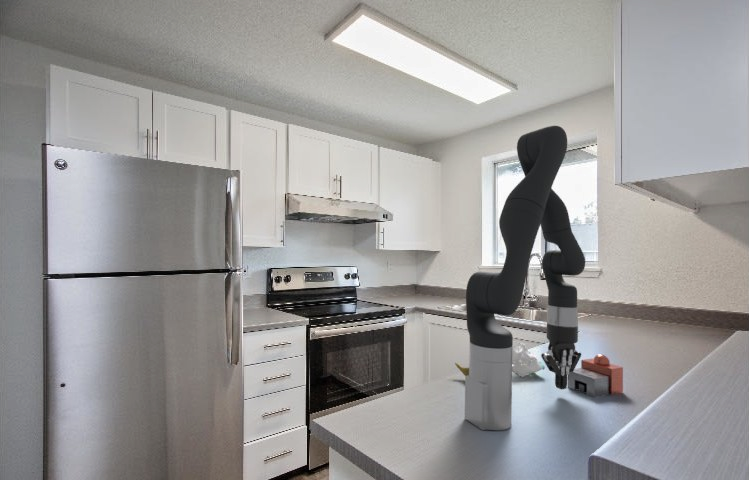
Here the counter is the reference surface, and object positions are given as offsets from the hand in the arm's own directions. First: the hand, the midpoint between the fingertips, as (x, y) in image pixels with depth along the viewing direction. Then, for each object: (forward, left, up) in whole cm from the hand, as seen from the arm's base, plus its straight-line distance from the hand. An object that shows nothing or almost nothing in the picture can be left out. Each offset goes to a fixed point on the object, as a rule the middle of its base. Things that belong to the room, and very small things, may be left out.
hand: (561, 388), depth 99 cm
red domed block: (+14, 0, -2) cm, 14 cm away
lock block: (+11, 0, -2) cm, 11 cm away
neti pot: (-15, +16, -2) cm, 22 cm away
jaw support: (+5, +18, -3) cm, 19 cm away
